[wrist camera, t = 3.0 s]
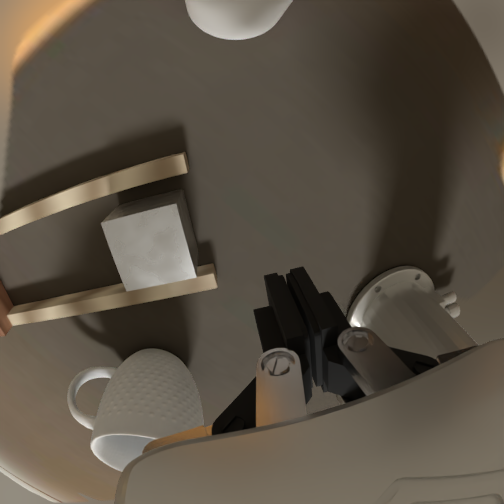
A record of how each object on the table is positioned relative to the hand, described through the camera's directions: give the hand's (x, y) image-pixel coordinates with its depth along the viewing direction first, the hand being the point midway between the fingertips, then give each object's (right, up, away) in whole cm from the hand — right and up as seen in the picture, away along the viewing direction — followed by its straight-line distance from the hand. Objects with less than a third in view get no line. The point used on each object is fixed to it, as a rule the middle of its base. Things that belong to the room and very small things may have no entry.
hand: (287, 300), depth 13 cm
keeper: (-10, +4, +13) cm, 17 cm away
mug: (-14, -11, +20) cm, 27 cm away
